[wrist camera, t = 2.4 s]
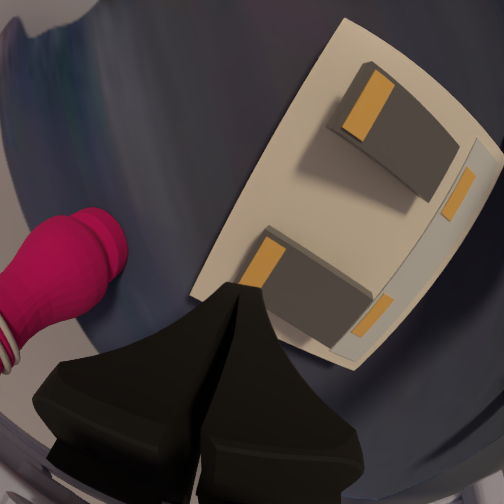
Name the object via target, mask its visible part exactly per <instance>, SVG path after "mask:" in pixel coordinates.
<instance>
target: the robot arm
mask: <svg viewBox="0 0 504 504" xmlns="http://www.w3.org/2000/svg"><path fill="white" fill-rule="evenodd" d="M32 402H33V405H34V408H35V410H36V412H37V413H38V415H39V416H40V418H41V419H42V420H43V422H44V423H45V424H46V426H47V427H48V428H49V429H50V430H51V432H52V433H53V434H54V436H55V437H56V438H57V440H56V442H55V443H54V445H53V447H52V448H51V449H49V448H48V447H46V446H45V445H43V444H42V443H40V442H39V441H37V440H36V439H35V438H33V437H32V436H30V435H29V434H28V433H26V432H25V431H23V430H22V429H21V428H20V427H18V426H17V425H16V424H14V423H13V422H12V421H11V420H9V419H8V418H7V417H6V416H4V414H2V413H1V412H0V504H90V503H88V502H86V501H85V500H83V499H82V498H80V497H79V496H77V495H76V494H75V493H74V492H72V491H71V490H69V489H68V488H66V487H64V486H63V485H61V484H60V483H58V482H57V481H55V480H54V479H52V475H51V473H52V474H54V475H55V476H57V477H58V478H60V479H62V480H63V481H65V482H67V483H68V484H70V485H72V486H73V487H75V488H77V489H79V490H81V491H82V492H84V493H86V494H88V495H90V496H92V497H94V498H96V499H98V500H100V501H103V502H105V503H107V504H190V499H191V495H192V490H193V485H194V481H195V476H196V472H197V467H198V463H199V459H200V454H201V468H202V471H201V474H200V478H199V482H198V486H197V490H196V496H198V502H199V504H341V492H342V491H343V490H345V489H346V488H348V487H349V486H350V485H352V484H353V483H354V482H356V481H357V480H358V479H359V478H360V477H361V476H362V474H363V473H364V460H363V453H362V450H361V446H360V442H359V439H358V436H357V433H356V430H355V429H354V428H353V427H352V426H350V425H349V424H348V423H347V422H346V421H344V420H343V419H342V418H341V417H340V416H338V415H337V414H336V413H335V412H334V411H333V410H331V409H330V408H329V407H328V406H327V405H326V404H325V403H324V402H323V401H322V400H321V399H320V398H319V397H318V396H317V395H316V393H315V392H314V391H313V390H312V389H311V387H310V386H309V385H308V384H307V383H306V381H305V380H304V379H303V378H302V376H301V375H300V374H299V373H298V371H297V370H296V368H295V367H294V365H293V364H292V362H291V361H290V359H289V358H288V356H287V354H286V353H285V351H284V349H283V347H282V346H281V344H280V342H279V340H278V338H277V336H276V333H275V331H274V329H273V327H272V324H271V322H270V319H269V316H268V313H267V310H266V307H265V303H264V299H263V291H262V289H261V288H260V287H254V286H248V285H243V284H237V283H231V282H225V283H223V284H222V285H221V286H220V287H219V288H218V289H217V290H216V291H215V292H214V293H212V294H211V295H210V296H209V297H208V298H207V299H206V300H204V301H203V302H202V303H201V304H199V305H198V306H197V307H196V308H194V309H193V310H192V311H190V312H189V313H188V314H186V315H185V316H183V317H182V318H180V319H179V320H178V321H176V322H174V323H173V324H171V325H170V326H168V327H166V328H164V329H163V330H161V331H159V332H157V333H155V334H153V335H151V336H149V337H146V338H144V339H142V340H139V341H137V342H135V343H132V344H130V345H127V346H125V347H122V348H119V349H116V350H113V351H109V352H106V353H102V354H99V355H95V356H90V357H85V358H80V359H75V360H70V361H63V362H60V363H59V364H58V365H57V366H56V367H55V368H54V370H53V371H52V372H51V373H50V374H49V376H48V377H47V378H46V380H45V381H44V382H43V384H42V385H41V386H40V388H39V389H38V390H37V392H36V393H35V394H34V396H33V398H32ZM50 472H51V473H50ZM428 504H504V477H503V474H502V471H501V470H498V471H496V472H494V473H492V474H490V475H488V476H486V477H484V478H482V479H480V480H478V481H476V482H474V483H473V484H471V485H470V486H468V487H466V488H465V489H463V491H462V492H459V493H457V494H454V495H451V496H449V497H446V498H443V499H440V500H437V501H434V502H431V503H428Z"/></svg>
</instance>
